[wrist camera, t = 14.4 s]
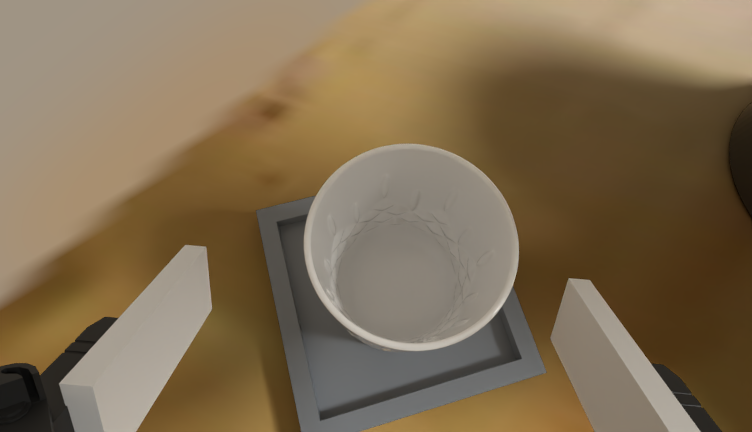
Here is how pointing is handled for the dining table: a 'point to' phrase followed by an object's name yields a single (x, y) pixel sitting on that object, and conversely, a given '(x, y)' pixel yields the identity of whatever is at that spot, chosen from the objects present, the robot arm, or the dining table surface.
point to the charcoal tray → (371, 365)
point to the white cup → (411, 247)
